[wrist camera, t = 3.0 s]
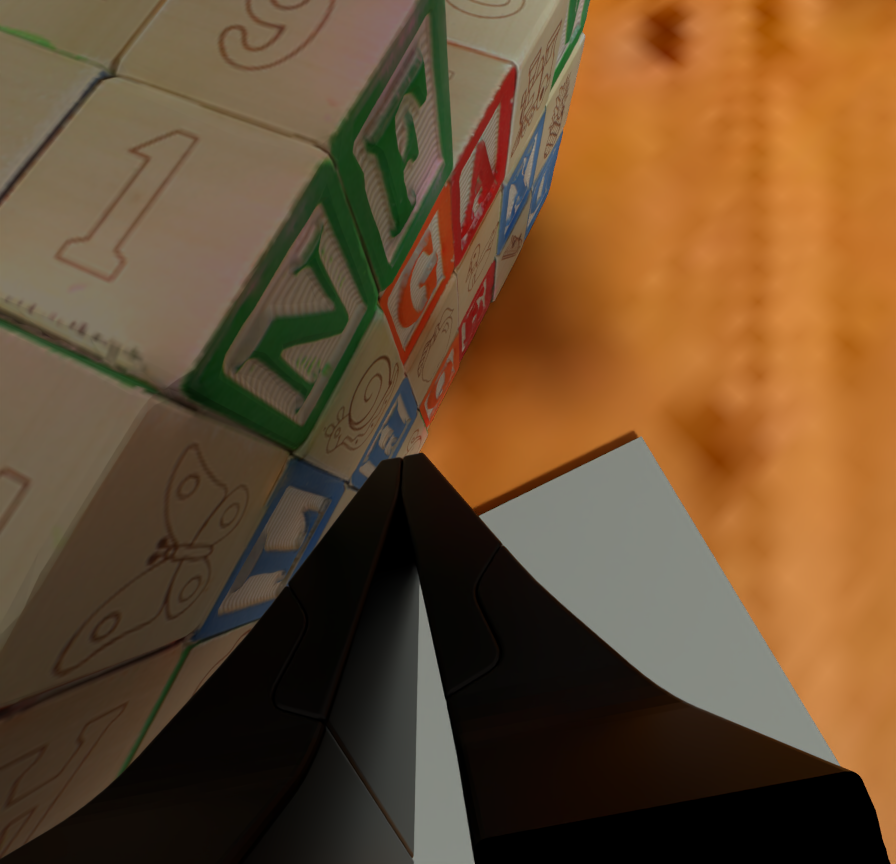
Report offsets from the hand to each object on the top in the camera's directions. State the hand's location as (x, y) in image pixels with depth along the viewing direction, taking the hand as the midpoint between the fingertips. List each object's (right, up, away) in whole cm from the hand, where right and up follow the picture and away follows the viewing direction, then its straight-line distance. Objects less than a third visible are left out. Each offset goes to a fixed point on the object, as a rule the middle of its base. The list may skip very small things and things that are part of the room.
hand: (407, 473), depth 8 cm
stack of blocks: (-2, +3, +9) cm, 10 cm away
